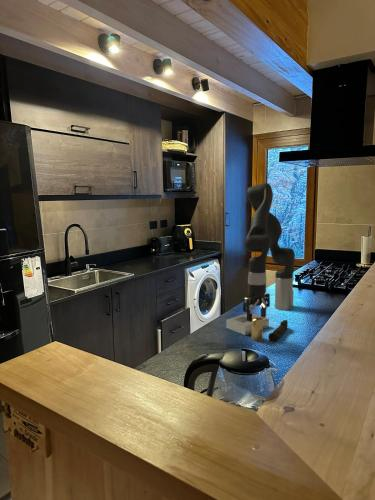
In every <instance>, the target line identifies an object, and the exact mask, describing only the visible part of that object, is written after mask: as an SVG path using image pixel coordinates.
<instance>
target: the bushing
mask: <svg viewBox="0 0 375 500" xmlns="http://www.w3.org/2000/svg"><path fill="white" fill-rule="evenodd" d="M263 333H264V329H263V318H260V317H253V318H252V322H251V333H250V335H251V337H250V338H251V341H255V342H261V341H263V339H264V338H263V336H264V335H263Z"/></svg>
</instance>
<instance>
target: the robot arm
mask: <svg viewBox="0 0 375 500" xmlns="http://www.w3.org/2000/svg"><path fill="white" fill-rule="evenodd" d="M246 194H247V198H248V201H249V203H250V205H251V207H252V209H253V210H254V213H253V215H252V217H251V220H250V229H249V231H248V233H247V235H246V237H245V239H244V248H245V250H246V251H247V252H249V253H253V252H254V253H260V255H258V256H254V257H251V258H249V259H248V277H247V293H248V297H243V303H242V312H244V313H245V314H247V321H249V322H252V313H253V312H254V309H256V308H257V307H259V306H260V316H261V317H263V318H267V309H268V308H270V306H271V301H270V300H271V297H270V296H271V294H270V293H269V292H268V293H267V272H266V271H267V258H268V254H269V251H270V255H271V258H272V260H273V262H274V263H275V264H276V265H281V266H284V268H283V269H281V270H276V272H275V274H274V275H275V276H274V277H275V279H274V282H275V284H274V291H275V292H274V308H275V309H277V310H280V311H281V310H283V311H287V310H288V311H289V310H292V309H293V307H294V290H293V287H294V269H295V259H296V258H295V257H296V256H295V250H294V249H293V248H290V247H280V245H279V241H280V238H281V236H282V234H283V228H282V225H281V222H280V220H279V218H278V217H277V216H275V214H273V213H271V212H270V211H271V207H272V203H273V199H274V198H273V197H274V193H273V189H272V186H271V184H270V183H267V182H265V183H259V184H257V185H256V184H255V185H252V186H250V187H248V188H247V193H246Z"/></svg>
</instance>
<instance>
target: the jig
mask: <svg viewBox="0 0 375 500" xmlns="http://www.w3.org/2000/svg"><path fill="white" fill-rule="evenodd" d="M253 317H260V318H263V317H261V315H259V314H255V313H253V312H252V318H253ZM225 325H226V329H229V330H231V331H233V332H236V333H239V334H242V335H243V336H247V335H251V322H249V321H247V313H244V314H241V315H237V316H234V317H231V318H227V319H226V324H225ZM269 327H270V318H268V317H265V318H263V330H264V329H266V328H269Z"/></svg>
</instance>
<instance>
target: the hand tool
mask: <svg viewBox="0 0 375 500" xmlns="http://www.w3.org/2000/svg"><path fill="white" fill-rule="evenodd" d="M288 326H289V325H288V320H287V319H284V320H282V321H280V323H279V326H277V327H276V328H275V329H274V331H272V332H271V333H268V341H270V342H272V343H277V342H278V341H279V338H280V337H281V336H283V334H284V333H286V332H287V331H288Z"/></svg>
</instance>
